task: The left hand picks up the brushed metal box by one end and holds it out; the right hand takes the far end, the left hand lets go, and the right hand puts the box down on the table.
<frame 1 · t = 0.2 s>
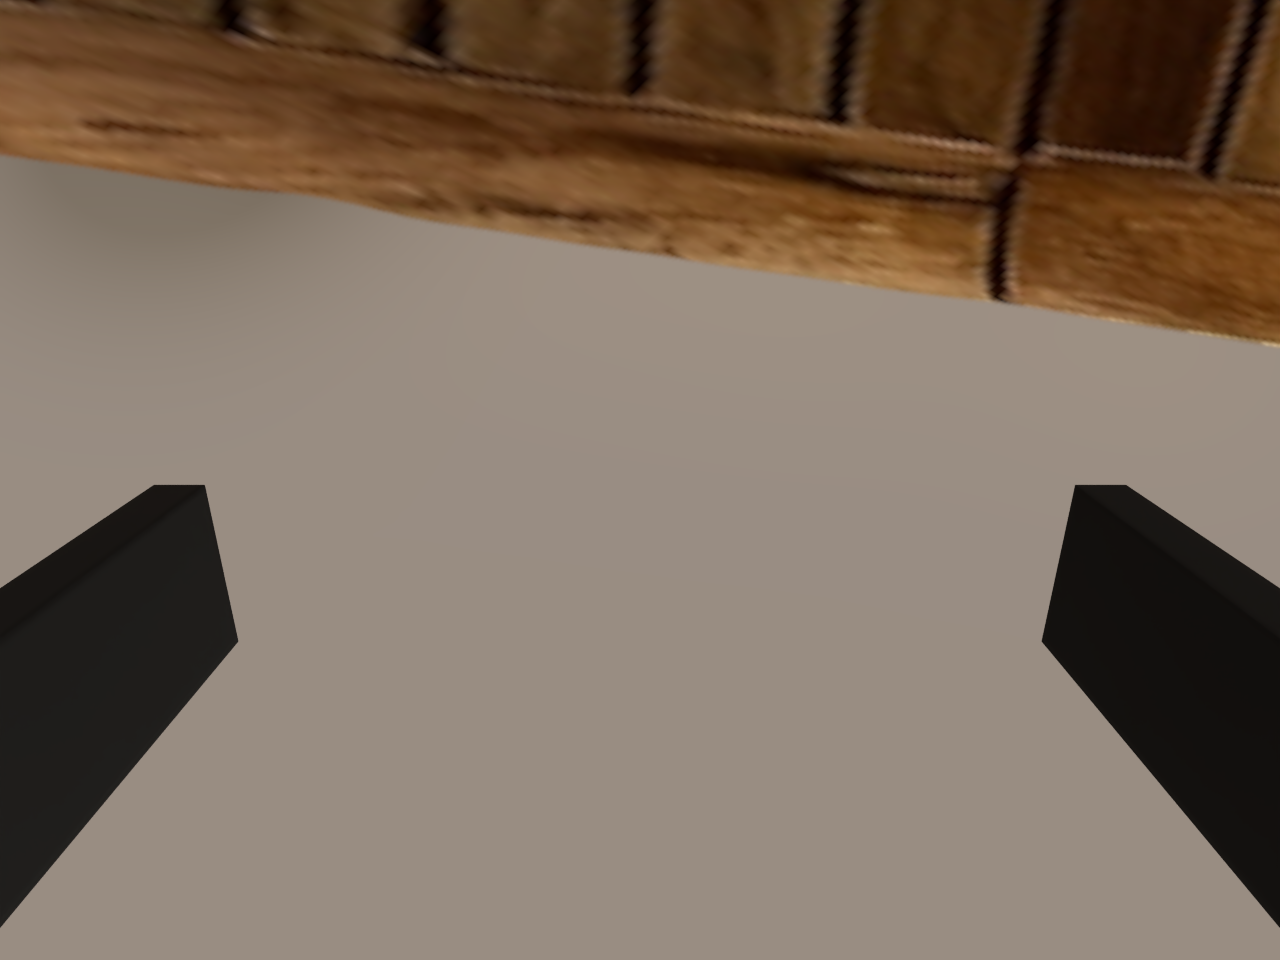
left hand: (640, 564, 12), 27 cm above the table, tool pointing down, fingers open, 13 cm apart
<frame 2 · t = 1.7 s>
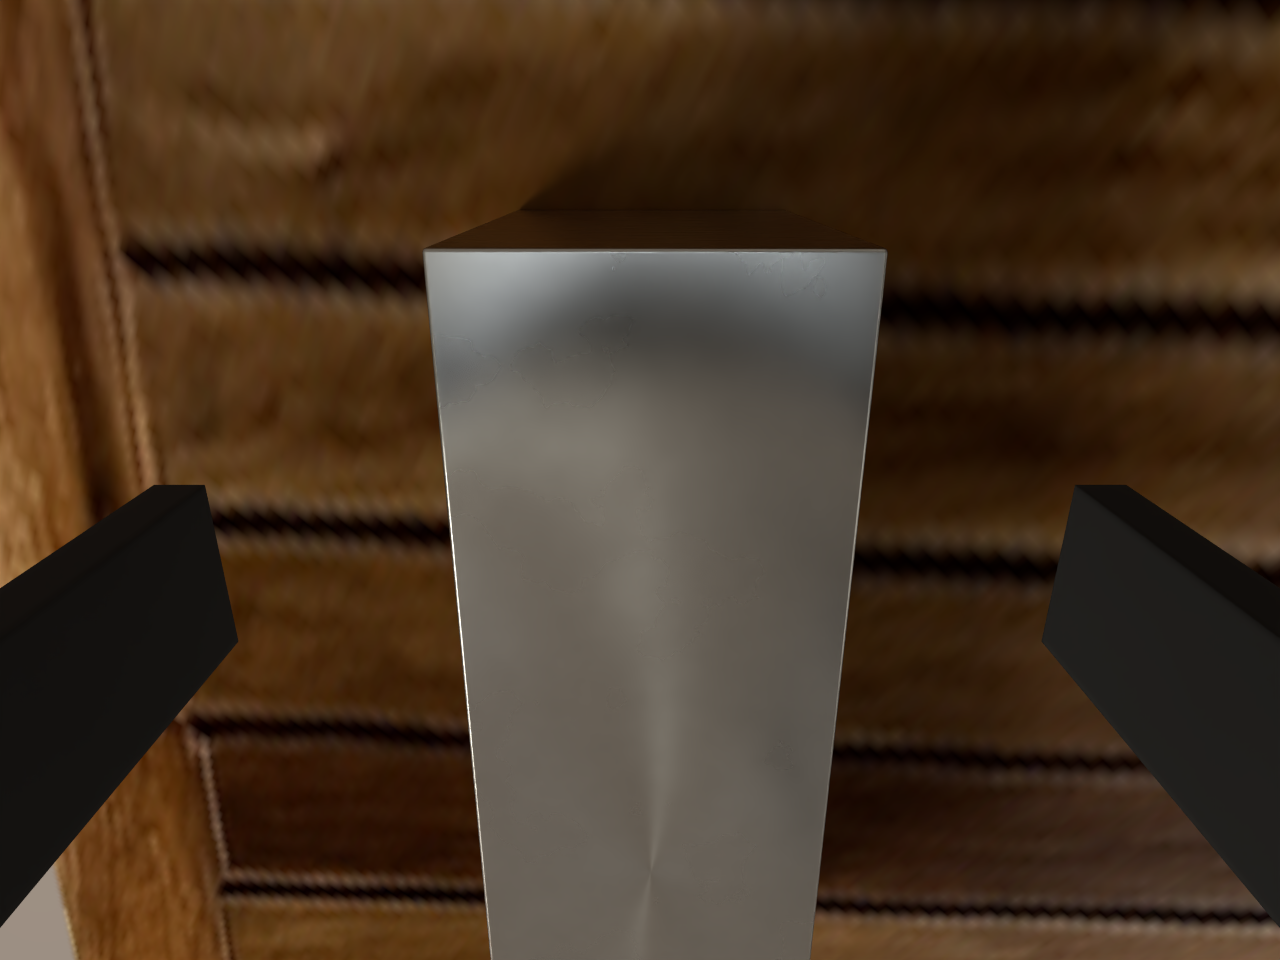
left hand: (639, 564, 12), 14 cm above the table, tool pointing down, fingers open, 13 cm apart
box: (649, 625, 29), on the table
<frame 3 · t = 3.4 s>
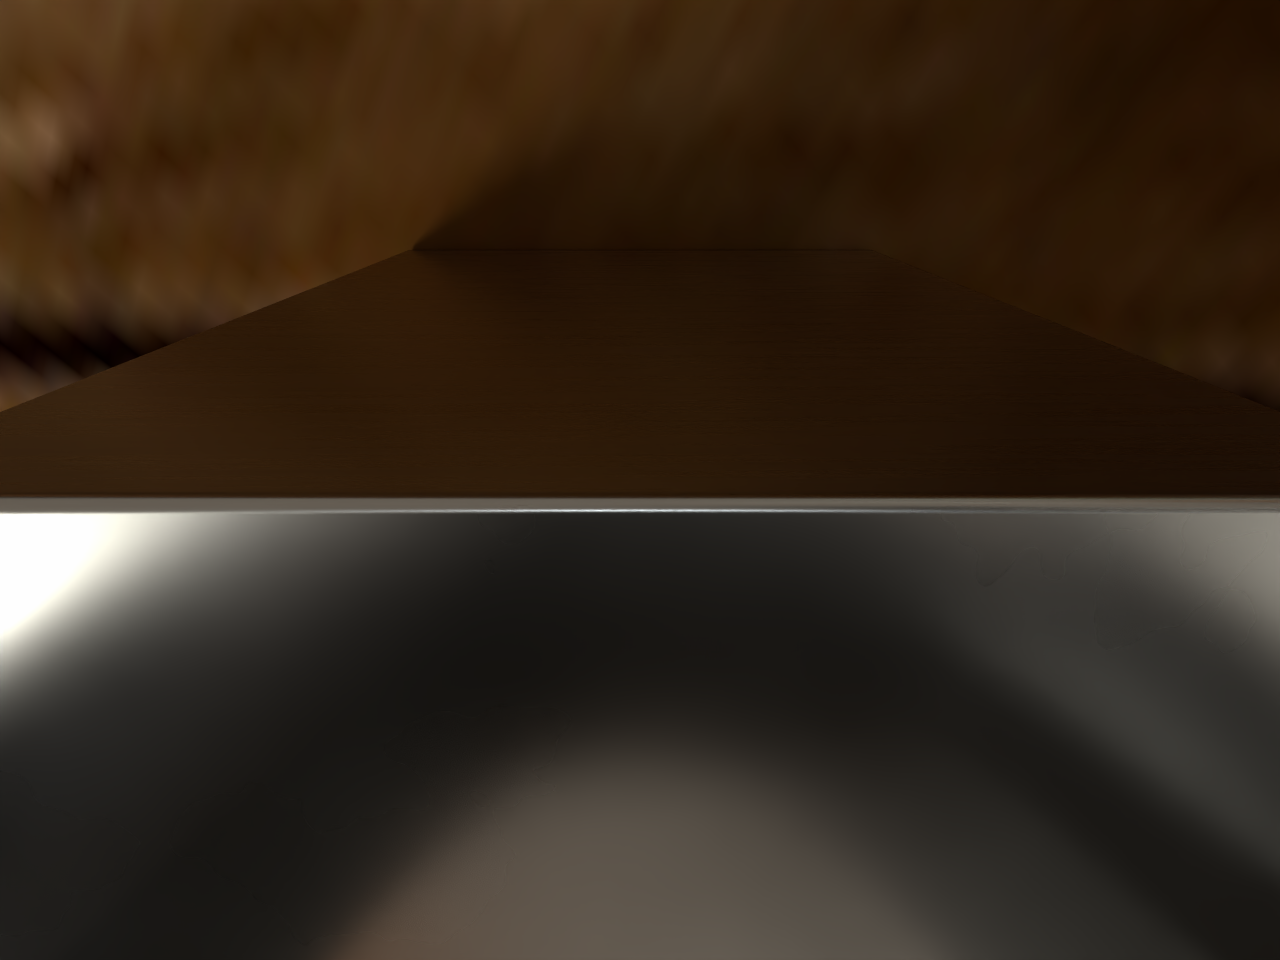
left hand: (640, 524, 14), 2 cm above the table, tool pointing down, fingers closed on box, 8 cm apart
box: (640, 874, 19), on the table, touching left hand
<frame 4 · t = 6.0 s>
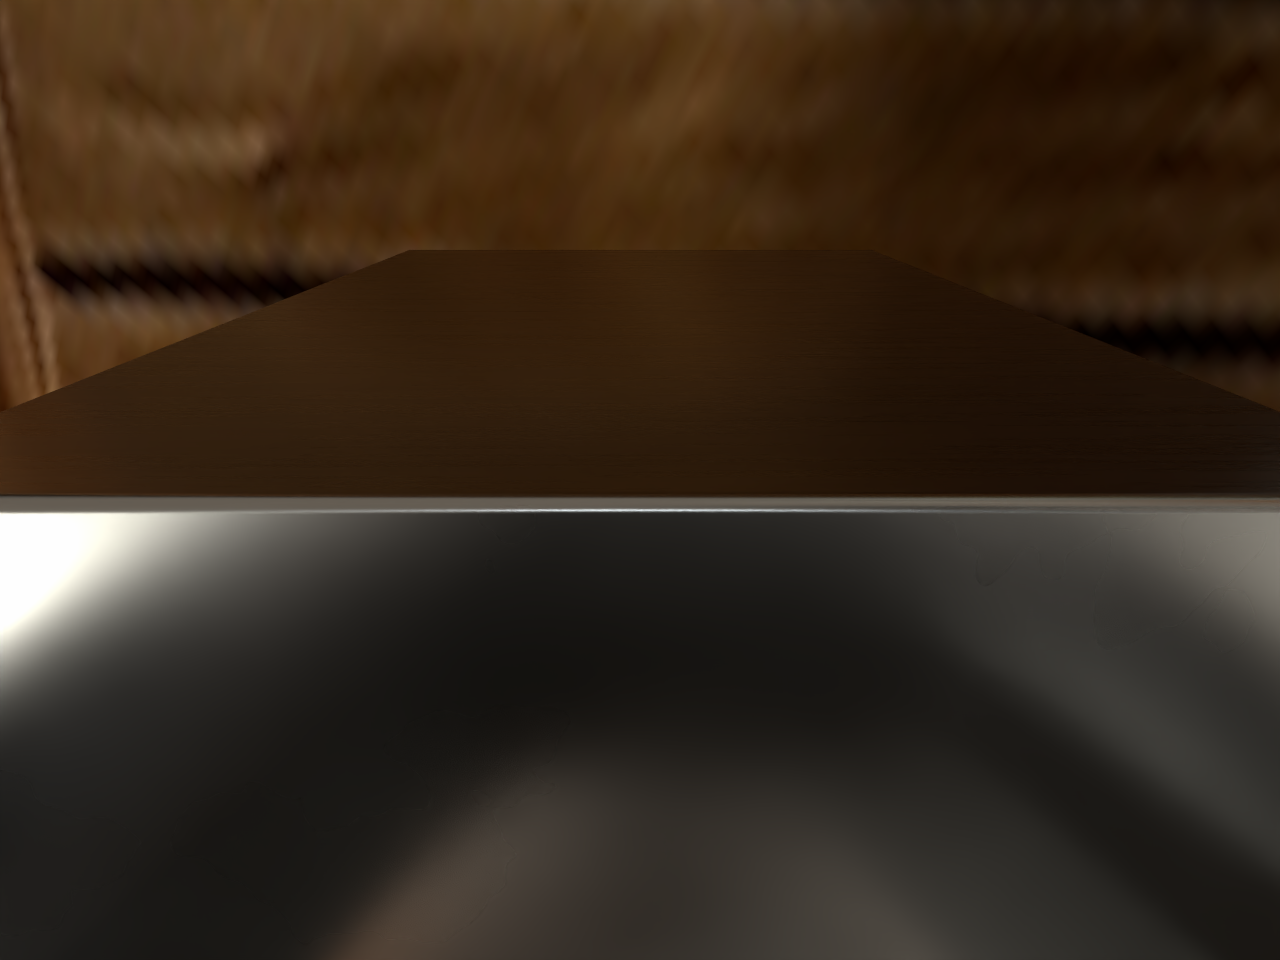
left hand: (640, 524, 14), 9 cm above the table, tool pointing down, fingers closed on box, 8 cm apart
box: (640, 874, 19), point 8 cm above the table, touching left hand
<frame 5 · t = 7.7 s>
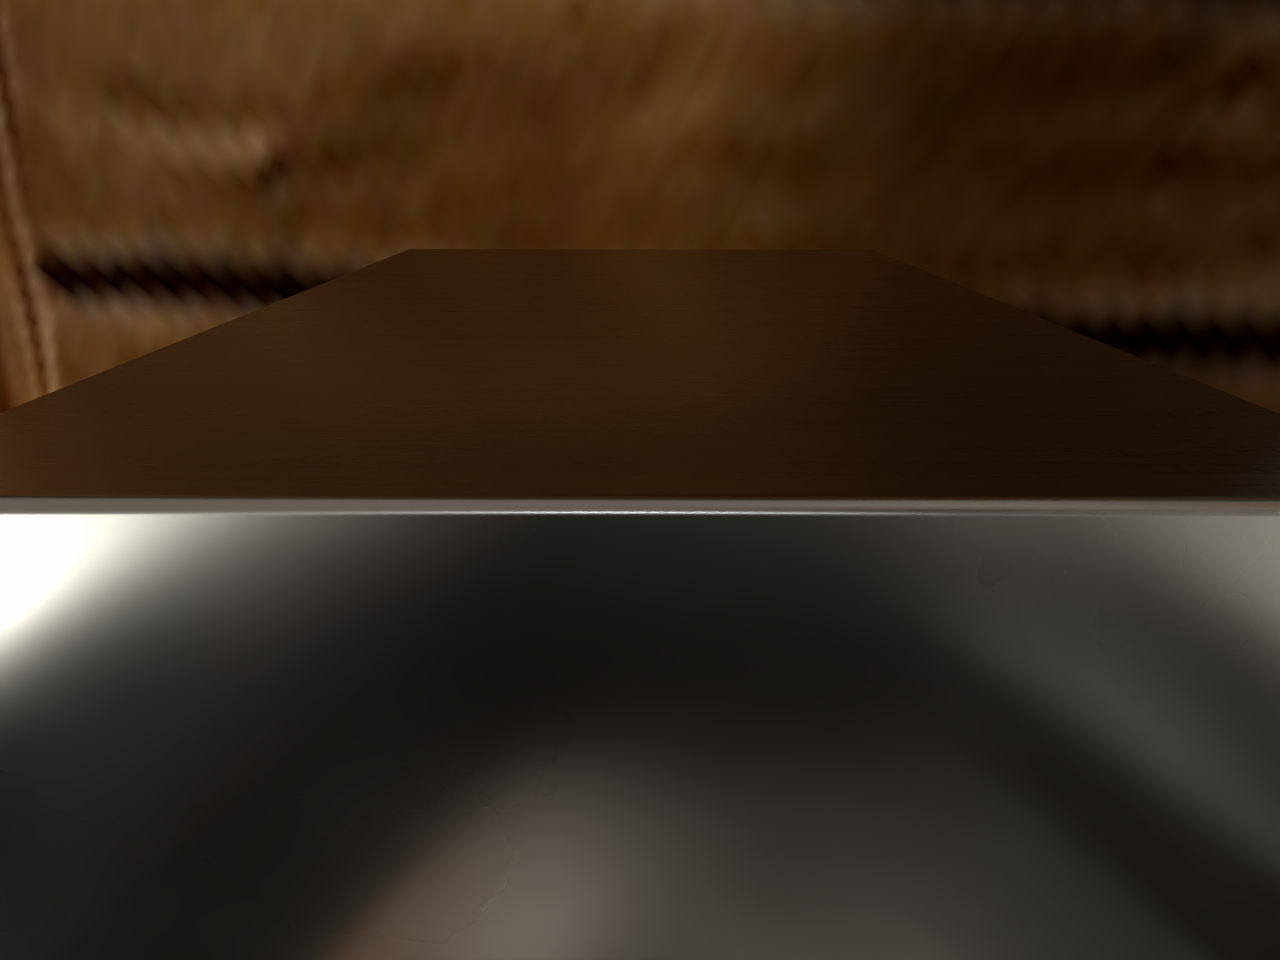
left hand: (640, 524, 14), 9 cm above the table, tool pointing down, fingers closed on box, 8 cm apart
box: (639, 873, 19), point 8 cm above the table, touching left hand, right hand
when the left hand's fingers open (9 cm above the table, at t = 8.7 s): box stays where it is, held by the right hand.
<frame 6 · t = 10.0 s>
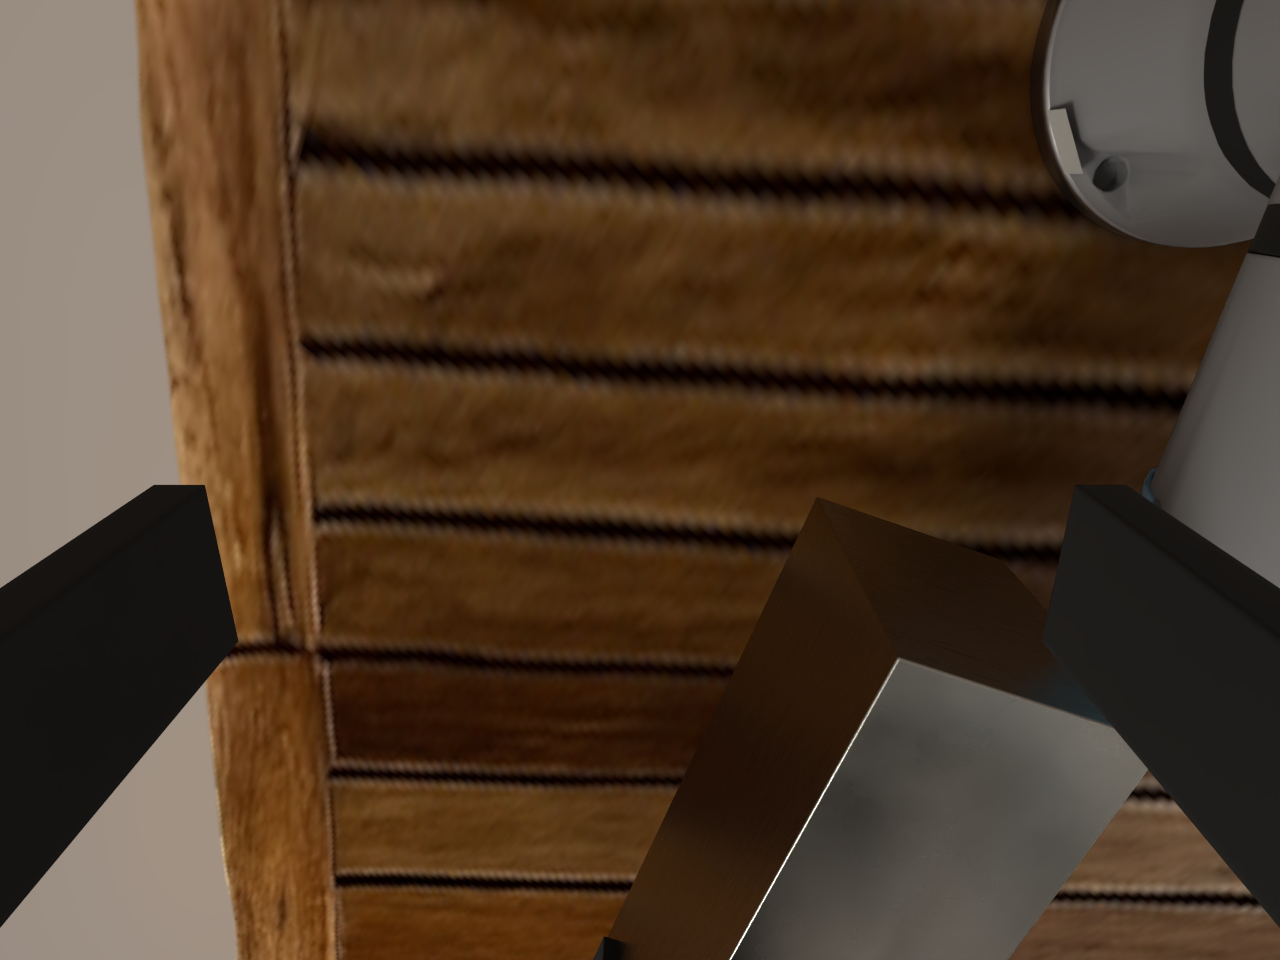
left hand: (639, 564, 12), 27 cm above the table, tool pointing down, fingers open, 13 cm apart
box: (767, 800, 36), point 10 cm above the table, touching right hand
when the right hand's fingers open (4 cm above the table, at t = 12.6 s): box drops 2 cm, on the table.
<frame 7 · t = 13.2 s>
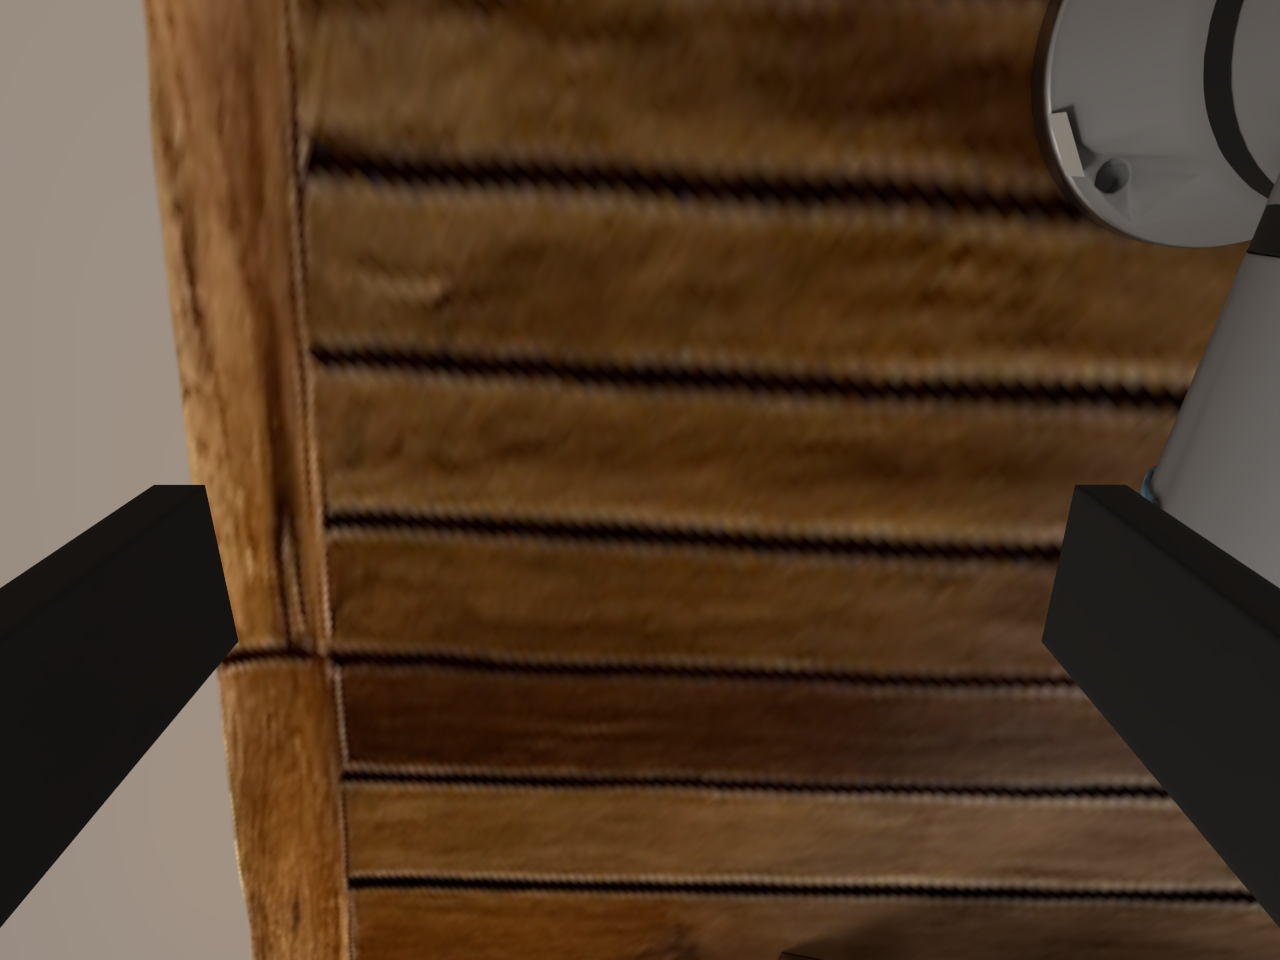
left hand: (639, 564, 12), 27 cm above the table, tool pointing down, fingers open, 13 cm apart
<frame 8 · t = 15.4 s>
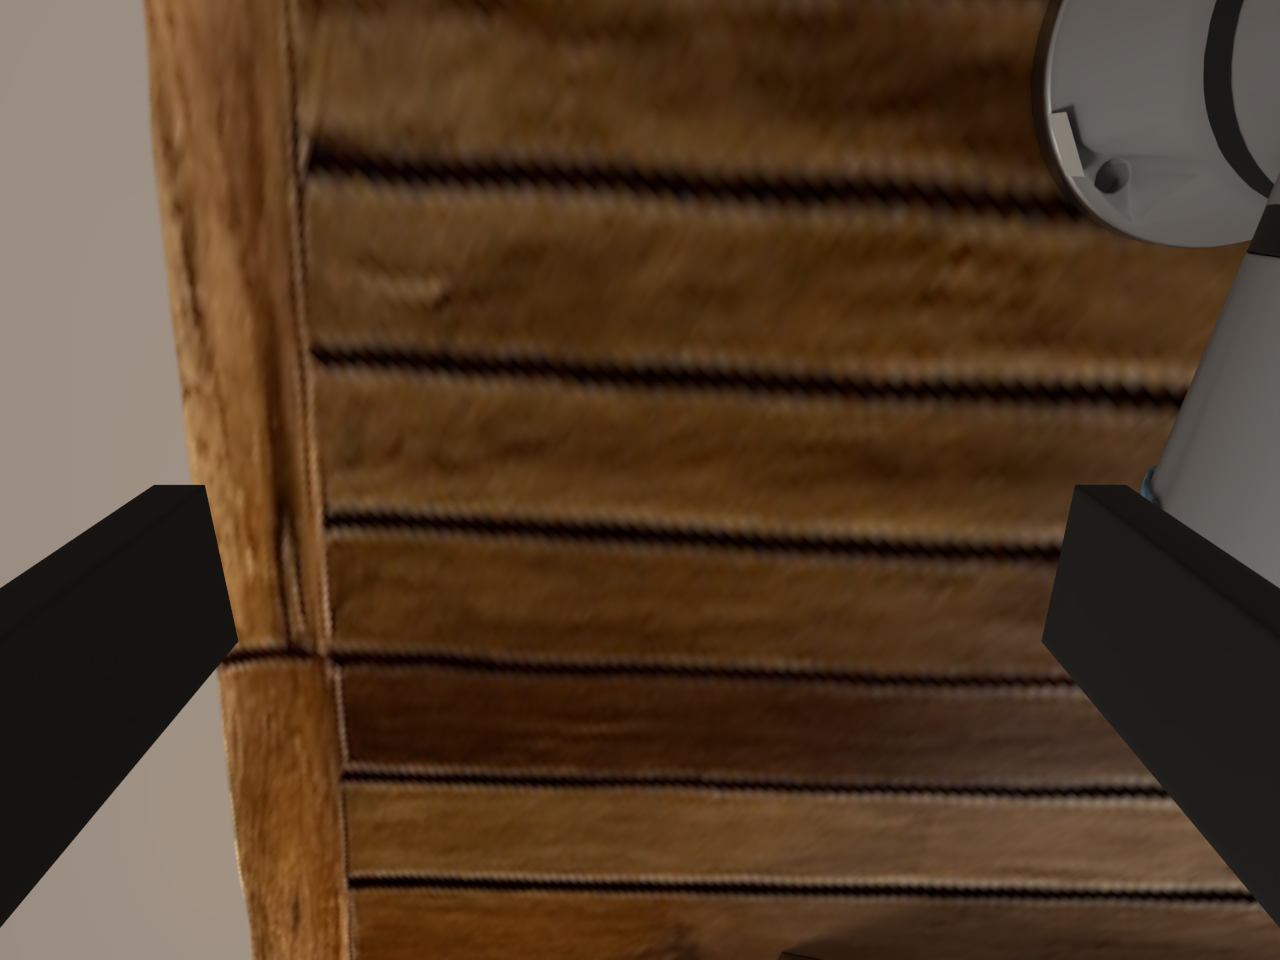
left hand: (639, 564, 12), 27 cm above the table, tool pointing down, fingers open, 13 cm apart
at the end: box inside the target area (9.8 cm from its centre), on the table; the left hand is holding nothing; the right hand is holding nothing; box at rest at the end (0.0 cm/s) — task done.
